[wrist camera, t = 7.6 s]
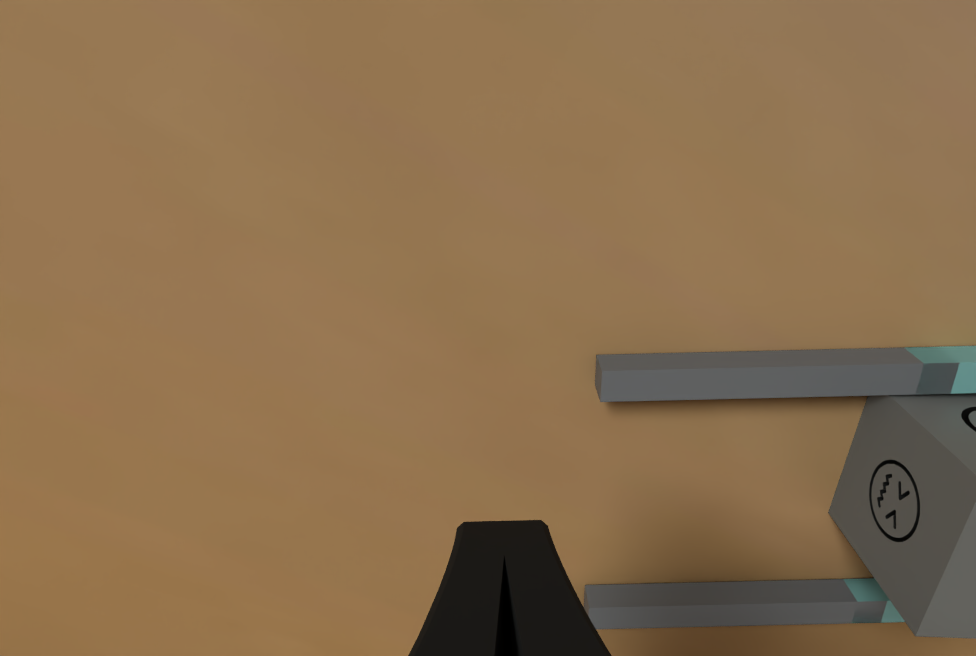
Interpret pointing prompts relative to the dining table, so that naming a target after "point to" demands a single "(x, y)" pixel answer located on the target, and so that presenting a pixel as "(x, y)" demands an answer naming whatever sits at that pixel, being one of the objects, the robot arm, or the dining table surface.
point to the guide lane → (765, 380)
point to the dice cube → (916, 507)
